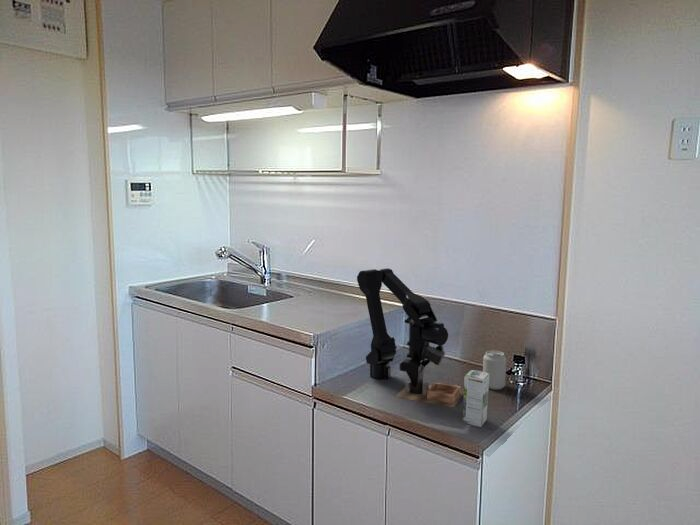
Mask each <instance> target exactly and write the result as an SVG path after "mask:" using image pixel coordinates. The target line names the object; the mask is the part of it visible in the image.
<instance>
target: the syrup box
mask: <svg viewBox="0 0 700 525" xmlns="http://www.w3.org/2000/svg"><path fill="white" fill-rule="evenodd" d="M463 380H464V381H463V382H464V383H463V384H464V385H463V391H464V393H463V400H462V401H463V402H462V420H461V421H464V422H466V424H467V425H469V424H470V426H473V427H474V426H475V427H479V428H482V427H483V425H484V424H485V423H486V422H487V419H488V409H489V408H488V406H489V405H488V404H489V390H490V389H489V374H488V373H485V372H483V371H480V370H474V369H472V370H470V371H468V373H466V374H465V376H464V379H463Z"/></svg>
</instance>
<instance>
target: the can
mask: <svg viewBox="0 0 700 525" xmlns="http://www.w3.org/2000/svg"><path fill="white" fill-rule="evenodd" d="M482 360H483V361H482V362H483V363H482V372H485V373H488V374H489V390H495V391H498V390H502V389H503V388H504V387H505V386H506V375H507V374H506V372H507V370H506V368H507V357H506V356H505V353H504V352H503V351H500V350H488V351H485V354H484V355H483V359H482Z"/></svg>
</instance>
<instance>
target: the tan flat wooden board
mask: <svg viewBox="0 0 700 525" xmlns="http://www.w3.org/2000/svg"><path fill="white" fill-rule="evenodd" d="M463 395H464V390H461V386H460V385H459V386H458V385H454V384H453V385H452V384H447V383H441V382H440V383H439V382H434V383H433V384H432V385H430V384H429V382H424V383H423V392H422V394H413V393H412V392H411V380H410V379H408V380H407V381H405V387H404V388H402V390H401V391H399V392H398V394H396V396H395V398H397V399H398V398H400V399H405V400H411V401H416V402H422V403H426V404H432V405H437V406H444V407H448V408H449V407H450V408H455V406H456V405H457V404H458V402H459V400H460V399H461V397H462V396H463Z"/></svg>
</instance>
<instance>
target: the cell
mask: <svg viewBox="0 0 700 525" xmlns="http://www.w3.org/2000/svg"><path fill="white" fill-rule="evenodd" d="M421 368H424V365H423V364H422V367H421ZM424 373H425V370H424V369H423V370H422V371H421V372H419V378H418V383H417V387H414V386H413V385H412V382H411V392H412V393H413V394H422V392H423V385H424V378H425V376H424V375H425V374H424Z"/></svg>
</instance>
